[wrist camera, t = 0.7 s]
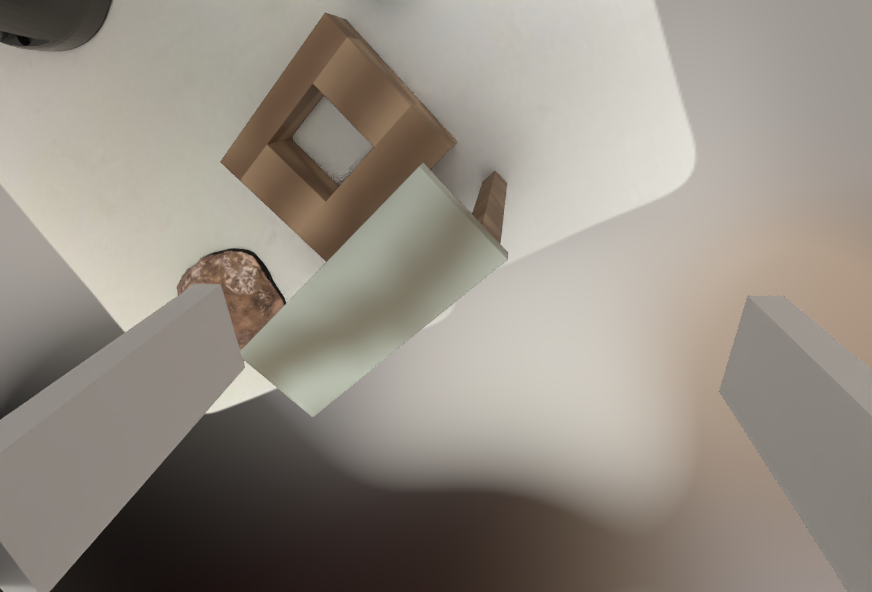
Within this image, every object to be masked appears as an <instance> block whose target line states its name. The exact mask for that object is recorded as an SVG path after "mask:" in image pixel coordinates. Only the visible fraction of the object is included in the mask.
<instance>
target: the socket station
mask: <svg viewBox="0 0 872 592" xmlns="http://www.w3.org/2000/svg"><path fill="white" fill-rule="evenodd" d="M323 95H324V96H325V97H326V98H327V99H328V100H329V101H330V102H331V103H332V104H333V105H334V106H335V107H336V108H337V109H338V110H339V111H340V112H341V113H342V114H343V115H344V116H345V117H346V118H347V119H348V120H349V122H350V123H351V124H352V125H353V126H354V127H355V128H356V129H357V130H358V131H359V132H360V133H361V134H362V135H363V136H364V137H365V138H366V139H367V140H368V141H369V142H370V143H371V144H372V145H373V146H374V148H373V149H372V150H371V151H370V152H369V153H368V155H367V156H366V157H365V158H364V159H363V160H362V161H361V162H360V164H359V165H358V166H357V167H356V168H355V169H354V170H353V171H352V173H351V174H350V175H349V176H348V177H347V178H346V179H345V180H344V182H343V183H342V184H341V185H340V186H338V185H337V184H336V183H335V182H334V181H333V180H332V179H331V178H330V177H329V176H328V175H327V174H326V173H325V172H324V171H323V170H322V169H321V168H320V167H319V166H318V165H317V164H316V163H315V162H314V161H313V160H312V159H311V158H310V157H309V156H308V155H307V154H306V153H305V152H304V151H303V150H302V149H301V148H300V147H299V146H298V145H297V144H296V143H295V142H294V141H293V140H292V139H291V137H292V135H293V134H294V133H295V132H296V130H297V129H298V128H299V126H300V125H301V124H302V122H303V121H304V120H305V119H306V117H307V116H308V115H309V113H310V112H311V111H312V110H313V108H314V107H315V106H316V104H317V103H318V102H319V100H320V99H321V98H322V97H323ZM456 142H457V141H456V140H455V139H454V138H453V137H452V136H451V135H450V133H449V132H448V131H447V130H446V129H445V128H444V127H443V126H442V125H441V124H440V122H439V121H438V120H437V119H436V118H435V117H434V116H433V115H432V114H431V113H430V111H429V110H428V109H427V108H426V107H425V106H424V105H423V104H422V103H421V102H420V100H419V99H418V98H417V97H416V96H415V95H414V94H413V93H412V92H411V91H410V89H409V88H408V87H407V86H406V85H405V84H404V83H403V82H402V81H401V80H400V78H399V77H398V76H397V75H396V74H395V73H394V72H393V71H392V70H391V69H390V67H389V66H388V65H387V64H386V63H385V62H384V61H383V60H382V59H381V58H380V56H379V55H378V54H377V53H376V52H375V51H374V50H373V49H372V48H371V47H370V45H369V44H368V43H367V42H366V41H365V40H364V39H363V38H362V37H361V36H360V34H359V33H358V32H357V31H356V30H355V29H354V28H353V27H352V26H351V25H350V23H349V22H348V21H347V20H346V19H343V18H340V17H337V16H334V15H331V14H328V13H325V14H324V15H323V17H322V18H321V19H320V21H319V22H318V24H317V25H316V26H315V28H314V29H313V31H312V32H311V34H310V35H309V36H308V38H307V39H306V41H305V42H304V43H303V45H302V46H301V48H300V49H299V51H298V52H297V53H296V55H295V56H294V58H293V59H292V61H291V62H290V63H289V65H288V66H287V68H286V69H285V70H284V72H283V73H282V75H281V76H280V78H279V79H278V80H277V82H276V83H275V85H274V86H273V88H272V89H271V90H270V92H269V93H268V95H267V96H266V97H265V99H264V100H263V102H262V103H261V105H260V106H259V107H258V109H257V110H256V112H255V113H254V115H253V116H252V117H251V119H250V120H249V122H248V123H247V124H246V126H245V127H244V129H243V130H242V132H241V133H240V134H239V136H238V137H237V139H236V140H235V142H234V143H233V144H232V146H231V147H230V149H229V150H228V151H227V153H226V154H225V156H224V157H223V159H222V160H221V161H220V162H221V163H222V164H223V165H224V166H225V167H226V168H227V169H228V170H229V171H230V172H231V173H232V174H233V175H235V176H236V177H237V178H238V179H239V180H240V181H241V182H242V183H243V184H244V185H245V186H246V187H247V188H248V189H249V190H251V191H252V192H253V193H254V194H255V195H256V196H257V197H258V198H259V199H260V200H261V201H262V202H263V203H264V204H265V205H267V206H268V207H269V208H270V209H271V210H272V211H273V212H274V213H275V214H276V215H277V216H278V217H279V218H280V219H281V220H283V221H284V222H285V223H286V224H287V225H288V226H289V227H290V228H291V229H292V230H293V231H294V232H295V233H296V234H297V235H299V236H300V237H301V238H302V239H303V240H304V241H305V242H306V243H307V244H308V245H309V246H310V247H311V248H312V249H313V250H315V251H316V252H317V253H318V254H319V255H320V256H321V257H322V258H323V259H324V260H325V261H326V263H325V264H324V265H323V266H322V267H321V268H320V269H319V270H318V271H317V272H316V274H315V275H314V276H313V277H312V278H311V279H310V280H309V281H308V282H307V283H306V284H305V285H304V286H303V287H302V288H301V289H300V290H299V291H298V292H297V293H296V294H295V295H294V296H293V297H292V298H291V299H290V300H289V301H288V302H287V303H286V304H285V305H284V307H283V308H282V309H281V310H280V311H279V312H278V313H277V314H276V315H275V316H274V317H273V318H272V319H271V320H270V321H269V322H268V323H267V324H266V325H265V326H264V327H263V328H262V329H261V330H260V331H259V332H258V333H257V334H256V335H255V336H254V337H253V339H252V340H251V341H250V342H249V343H248V344H247V345H246V346H245V347H244V348H243V349H242V350H241V351H240V352H241V356H242V359H244V360H245V361H246V362H247V363H248V364H250V365H251V366H252V367H253V368H254V369H256V370H257V371H258V372H259V373H260V374H261V375H263V376H264V377H265V378H266V379H267V380H269V381H270V382H271V383H272V384H273V385H275V386H276V387H277V388H278V389H279V390H281V391H282V392H283V393H284V394H285V395H287V396H288V397H289V398H290V399H292V400H293V401H294V402H295V403H296V404H298V405H299V406H300V407H301V408H302V409H304V410H305V411H306V412H307V413H308V414H309V415H311V416H312V417H314V416H315V415H316V414H317V413H319V412H320V411H321V410H322V409H324V408H325V407H326V406H327V405H329V404H330V403H331V402H332V401H333V400H335V399H336V398H337V397H338V396H339V395H341V394H342V393H343V392H345V391H346V390H347V389H348V388H350V387H351V386H352V385H353V384H354V383H356V382H357V381H358V380H359V379H361V378H362V377H363V376H364V375H365V374H367V373H368V372H369V371H371V370H372V369H373V368H374V367H376V365H378V364H379V363H380V362H382V361H383V360H384V359H385V358H386V357H388V356H389V355H390V354H392V353H393V352H394V351H395V350H397V349H398V348H399V347H400V346H401V345H403V344H404V343H405V342H406V341H408V340H409V339H410V338H411V337H413V336H414V335H415V334H416V333H418V332H419V331H420V330H421V329H422V328H424V327H425V326H426V325H427V324H429V323H430V322H431V321H432V320H434V319H435V318H436V317H437V316H439V315H440V314H441V313H442V312H444V311H445V310H446V309H447V308H448V307H450V306H451V305H452V304H453V303H455V302H456V301H457V300H458V299H460V298H461V297H462V296H463V295H465V294H466V293H467V292H468V291H469V290H471V289H472V288H473V287H474V286H476V285H477V284H478V283H479V282H481V281H482V280H483V279H484V278H486V277H487V276H488V275H489V274H490V273H492V272H493V271H494V270H495V269H497V268H498V267H499V266H500V265H502V264H503V263H504V262H505V261H507V259H508V252H507V251H506V250H505V249H504V248H503V247H502V246H501V245H500V242H501V233H502V224H503V215H504V206H505V197H506V188H507V183H506V182H505V181H504V180H503V179H502V178H501V176H500V175H499V174H498V173H497V172H496V171H495V172H494V173H493V174H492V175H491V176H489V177H488V178H487V179H486V180H485V181H484V182H483V183H482V186H481V189H480V192H479V195H478V198H477V201H476V204H475V207H474V210H473V213H472V214H471V213H470V212H469V211H468V210H467V208H466V207H465V206H464V205H463V204H462V203H461V202H460V201H459V200H458V199H457V198H456V197H455V196H454V195H453V194H452V193H451V192H450V190H449V189H448V188H447V187H446V186H445V185H444V184H443V183H442V182H441V181H440V180H439V179H438V178H437V177H436V176H435V175H434V173H433V172H432V171H431V170H430V169H431V168H432V167H433V166H434V165H435V164H436V163H437V162H438V161H439V160H440V159H441V158H442V157H443V156H444V155H445V154H446V153H447V152H448V151H449V150H450V149H451V147H452V146H453V145H454V144H455V143H456Z"/></svg>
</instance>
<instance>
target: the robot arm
mask: <svg viewBox="0 0 872 592" xmlns="http://www.w3.org/2000/svg"><path fill="white" fill-rule="evenodd" d="M109 3H110V0H0V42H2V43H4V44H7V45H10V46H14V47H18V48H23V49H30V50H46V51H63V50H69V49H72V48H75V47H78V46H80V45H82V44H83V43H85V42H86V41H88V40H89V39H90V38H91V37H92V36H93V35H94V34H95V33H96V31H97V30H98V29H99V27H100V26H101V24H102V22H103V20H104V18H105V16H106V13H107V10H108V7H109ZM244 368H245V366H244V362H243V359H242V356H241V352H240V349H239V345H238V342H237V338H236V335H235V331H234V328H233V324H232V321H231V318H230V314H229V311H228V307H227V304H226V300H225V297H224V293H223V290H222V287H221V284H194V285H193V286H191V287H190V288H188V289H187V290H186V291H184V292H183V293H181V294H180V295H178V296H177V297H176V298H174V299H173V300H171V301H170V302H168V303H167V304H166V305H164V306H163V307H161V308H160V309H158V310H157V311H156V312H154V313H153V314H151V315H150V316H148V317H147V318H145V319H144V320H143V321H141V322H140V323H138V324H137V325H135V326H134V327H133V328H131V329H130V330H128V331H127V332H125V333H124V334H123V335H121V336H120V337H118V338H117V339H115V340H114V341H113V342H111V343H110V344H108V345H107V346H105V347H104V348H103V349H101V350H100V351H98V352H97V353H95V354H94V355H92V356H91V357H90V358H88V359H87V360H85V361H84V362H82V363H81V364H80V365H78V366H77V367H75V368H74V369H72V370H71V371H70V372H68V373H67V374H65V375H64V376H63V377H61V378H60V379H58V380H57V381H56V382H54V383H52V384H51V385H50V386H48V387H47V388H45V389H44V390H42V391H41V392H39V393H37V394H36V395H34V396H33V397H31V398H30V399H28V400H27V401H25V402H24V403H23V404H21V405H20V406H18V407H17V408H15V409H14V410H12V411H11V413H9V414H8V415H5V416H4V417H2V418H1V419H0V588H1V589H2V590H3V592H49V591H50V590H51V589H52V588H53V587H54V586H55V584H56V583H57V582H58V581H59V580H60V578H62V576H63V575H64V574H65V573H66V572H67V571H68V570H69V568H70V567H71V566H72V565H73V564H74V563H75V561H76V560H77V559H78V558H79V557H80V556H81V555H82V553H83V552H84V551H85V550H86V549H87V548H88V547H89V546H90V544H91V543H92V542H93V541H94V540H95V539H96V538H97V536H98V535H99V534H100V533H101V532H102V531H103V529H104V528H105V527H106V526H107V525H108V524H109V523H110V521H111V520H112V519H113V518H114V517H115V516H116V515H117V513H118V512H119V511H120V510H121V509H122V508H123V506H124V505H125V504H126V503H127V502H128V501H129V500H130V499H131V497H132V496H133V495H134V494H135V493H136V492H137V491H138V489H139V488H140V487H141V486H142V485H143V484H144V483H145V481H146V480H147V479H148V478H149V477H150V476H151V475H152V473H153V472H154V471H155V470H156V469H157V468H158V466H159V465H160V464H161V463H162V462H163V461H164V460H165V458H166V457H167V456H168V455H169V454H170V453H171V452H172V450H173V449H174V448H175V447H176V446H177V445H178V444H179V442H180V441H181V440H182V439H183V438H184V437H185V435H186V434H187V433H188V432H189V431H190V430H191V429H192V428H193V426H194V425H195V424H196V423H197V422H198V421H199V420H200V418H201V417H202V416H203V415H204V414H205V413H206V411H207V410H208V409H209V408H210V407H211V406H212V405H213V403H214V402H215V401H216V400H217V399H218V398H219V397H220V395H221V394H222V393H223V392H224V391H225V390H226V389H227V387H228V386H229V385H230V384H231V383H232V382H233V381H234V379H235V378H236V377H237V376H238V375H239V374H240V373H241V371H242V370H243V369H244ZM719 392H720V394H721V395H722V397H723V399H724V400H725V402H726V403H727V405H728V406H729V408H730V409H731V411H732V413H733V414H734V416H735V417H736V419H737V420H738V422H739V423H740V425H741V427H742V428H743V429H744V431H745V433H746V434H747V436H748V437H749V439H750V441H751V442H752V444H753V445H754V447H755V448H756V450H757V451H758V453H759V455H760V456H761V458H762V459H763V461H764V462H765V464H766V466H767V467H768V468H769V470H770V472H771V473H772V475H773V477H774V478H775V480H776V481H777V483H778V484H779V486H780V487H781V489H782V491H783V492H784V494H785V495H786V497H787V498H788V500H789V501H790V503H791V505H792V506H793V508H794V509H795V511H796V512H797V514H798V515H799V517H800V518H801V520H802V522H803V523H804V525H805V526H806V528H807V529H808V531H809V532H810V534H811V536H812V537H813V539H814V540H815V542H816V543H817V545H818V546H819V548H820V550H821V551H822V553H823V554H824V556H825V558H826V559H827V561H828V562H829V564H830V565H831V567H832V568H833V570H834V571H835V573H836V575H837V576H838V578H839V579H840V581H841V583H842V584H843V586H844V587H845V589H846V590H847V592H872V370H871V369H870V368H869V367H867V366H866V365H865V364H864V363H863V362H862V361H861V360H859V359H858V358H857V357H856V356H855V355H853V354H852V353H851V352H850V351H849V350H848V349H846V348H845V347H844V346H843V345H842V344H840V343H839V342H838V341H837V340H836V339H835V338H833V337H832V336H831V335H830V334H828V333H827V332H826V331H825V330H824V329H823V328H821V327H820V326H819V325H818V324H817V323H816V322H814V321H813V320H812V319H811V318H810V317H808V316H807V315H806V314H805V313H804V312H802V311H801V310H800V309H799V308H797V307H796V306H795V305H794V304H793V303H792V302H791V301H789V300H788V299H787V298H786V297H785V296H747V299H746V303H745V306H744V309H743V313H742V316H741V319H740V323H739V326H738V330H737V333H736V336H735V340H734V343H733V346H732V350H731V353H730V356H729V360H728V363H727V366H726V370H725V373H724V377H723V380H722V383H721V387H720V390H719Z"/></svg>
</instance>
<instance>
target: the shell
mask: <svg viewBox="0 0 872 592" xmlns="http://www.w3.org/2000/svg"><path fill="white" fill-rule="evenodd" d="M268 276H269V277H271V274H270V272H269V271H268V269H267V267H266V266H265V265H264V263H263V262H262V261H261V260H260V259H259V258H258V257H257V255H256V254H254V253H253V252H251V251H249V250H245V249H228V250H224V251H220V252H215V253H212V254H210V255H208V256H206V257H204V258H202V259H200V260H199V261H198V263H197V264H196V265H195V266H193V267H192V268H189V269H187V270H186V273H185V274H184V275H183V276H182V278H181V280H180V282H179V284H178V286H177V290H178V295H180V294H181V293H183V292H184V291H186V290H187V289H188V288H190V287H191V286H193V285H194V284H221V287H222V290H223V293H224V297H225V300H226V304H227V307H228V311H229V314H230V318H231V321H232V324H233V328H234V331H235V335H236V338H237V342H238V345H239V349H240V351H241V350H242V349H243V348H244V347H245V346H246V345H247V344H248V343H249V342H250V341H251V340H252V339H253V337H254V336H255V335H256V334H257V333H258V332H259V331H260V330H261V329H262V328H263V327H264V326H265V325H266V324H267V323H268V322H269V321H270V320H271V319H272V318H273V317H274V316H275V315H276V314H277V313H278V312H279V311H280V310H281V309H282V308H283V307H284V305H285V304H286V301H285V299H284V297H283V295H282V293H281V292H280V290H279V289H278V287H277V286H276V284H275V283H274V281H273V279H272V277H271V279H270V280H269V279H267V277H268ZM243 361H245V360H244V359H243Z"/></svg>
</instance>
